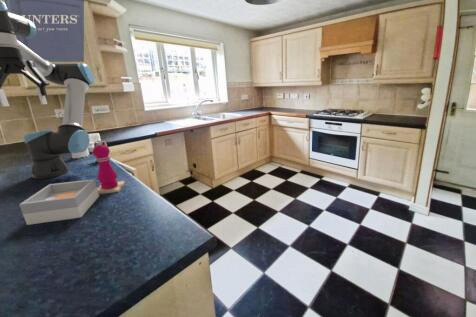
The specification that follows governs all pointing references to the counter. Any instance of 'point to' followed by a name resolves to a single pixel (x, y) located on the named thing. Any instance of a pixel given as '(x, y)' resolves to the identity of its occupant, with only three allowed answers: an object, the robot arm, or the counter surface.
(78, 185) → the grey open box
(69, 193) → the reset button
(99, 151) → the pepper mill
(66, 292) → the counter surface
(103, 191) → the cork mat
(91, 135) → the bracket
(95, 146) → the soda can
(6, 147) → the counter surface
